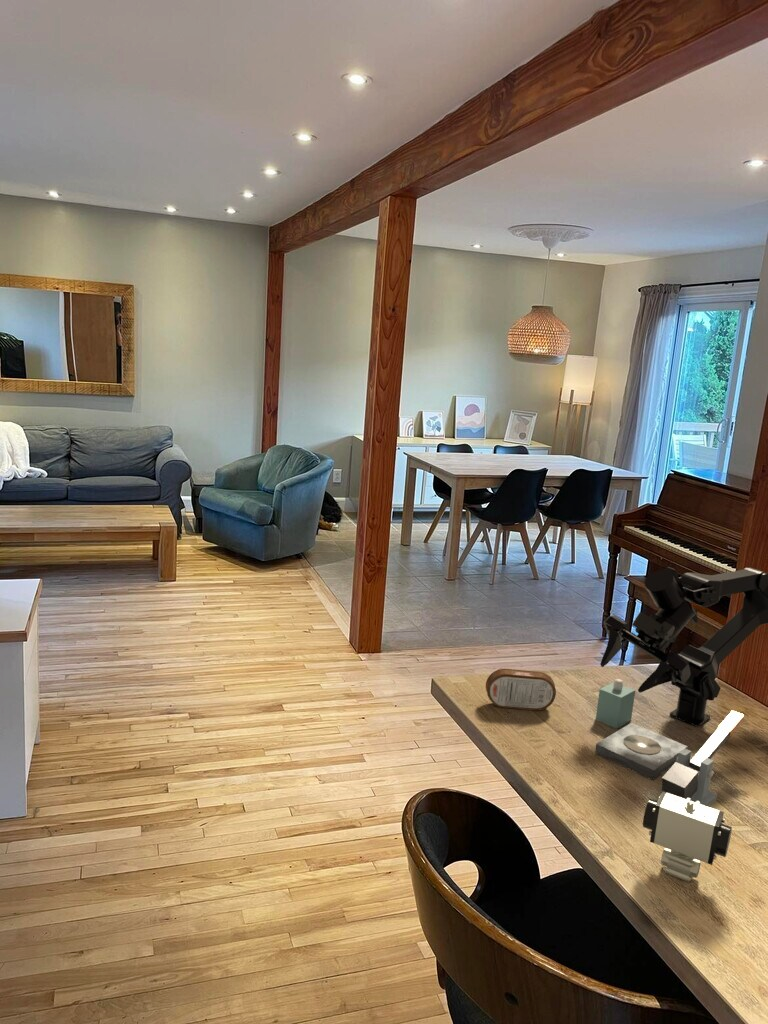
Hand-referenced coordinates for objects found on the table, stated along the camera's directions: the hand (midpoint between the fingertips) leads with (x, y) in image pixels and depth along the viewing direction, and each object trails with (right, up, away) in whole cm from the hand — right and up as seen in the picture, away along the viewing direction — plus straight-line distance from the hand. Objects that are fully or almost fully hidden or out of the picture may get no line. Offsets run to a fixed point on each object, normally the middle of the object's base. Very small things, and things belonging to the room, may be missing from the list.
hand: (619, 678), depth 154 cm
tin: (-18, -9, +13) cm, 24 cm away
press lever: (+11, -12, -14) cm, 22 cm away
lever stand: (+7, -17, -17) cm, 25 cm away
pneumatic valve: (-2, -21, -37) cm, 43 cm away
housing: (+2, -11, +11) cm, 15 cm away
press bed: (+3, -14, -3) cm, 15 cm away
